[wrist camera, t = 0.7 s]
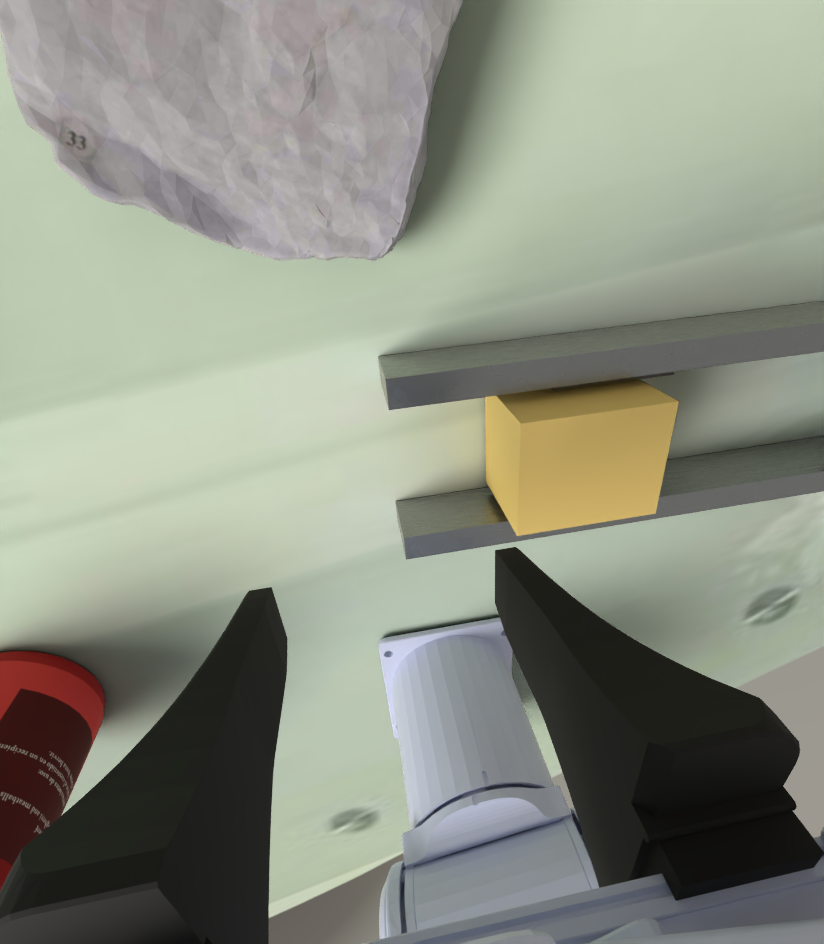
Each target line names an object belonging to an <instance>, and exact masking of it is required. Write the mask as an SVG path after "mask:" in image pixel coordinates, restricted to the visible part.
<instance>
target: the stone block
mask: <svg viewBox="0 0 824 944" xmlns="http://www.w3.org/2000/svg"><path fill="white" fill-rule="evenodd" d="M463 1H464V0H0V33H1V38H2V43H3V48H4V53H5V58H6V64H7V71H8V77H9V80H10V82H11V85H12V88H13V91H14V94H15V97H16V100H17V103H18V106H19V109H20V111H21V113H22V115H23V117H24V119H25V121H26V123H27V125H28V126H30V127H31V128H32V129H34V130H35V131H36V132H38V133H39V134H40V135H42V136H43V137H44V138H45V139H46V140H47V141H48V142H49V143H50V144H51V145H52V148H53V152H54V159H55V162H56V163H57V165H58V166H59V167H60V168H61V169H62V170H63V171H64V172H66V173H67V174H69V175H70V176H72V177H73V178H74V179H76V180H77V181H78V182H79V183H80V184H81V185H82V186H83V187H85V188H86V189H87V190H88V191H89V192H90V193H91V194H93V195H95V196H97V197H100V198H102V199H104V200H107V201H109V202H113V203H117V204H121V205H135V206H138V207H141V208H144V209H146V210H148V211H151V212H153V213H155V214H158V215H160V216H162V217H164V218H166V219H167V220H168V221H170V222H172V223H174V224H177V225H179V226H181V227H182V228H184V229H186V230H188V231H190V232H192V233H196V234H199V235H201V236H204V237H206V238H208V239H211V240H213V241H216V242H218V243H221V244H224V245H228V246H231V247H234V248H237V249H244V250H246V251H249V252H251V253H254V254H257V255H261V256H264V257H268V258H272V259H276V260H292V259H308V258H311V257H316V258H318V259H322V260H331V259H334V258H338V257H351V258H365V259H368V260H376V259H377V258H382V257H383V256H384V255H386V254H387V253H389V252H390V251H392V249H393V247H394V246H395V244H396V243H397V242H398V241H399V240H400V239H401V238H402V236H403V234H404V231H405V228H406V226H407V223H408V220H409V217H410V214H411V210H412V207H413V204H414V201H415V199H416V190H417V187H418V186H419V184H420V183H421V181H422V177H423V172H424V168H425V165H426V162H427V133H428V120H429V118H430V115H431V104H432V100H431V99H432V97H433V88H434V86H435V83H436V80H437V76H438V74H439V72H440V69H441V66H442V63H443V60H444V57H445V55H446V52H447V49H448V38H449V34H450V30H451V28H452V26H453V24H454V23H455V21H456V19H457V16H458V14H459V11H460V8H461V6H462V3H463Z"/></svg>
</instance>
